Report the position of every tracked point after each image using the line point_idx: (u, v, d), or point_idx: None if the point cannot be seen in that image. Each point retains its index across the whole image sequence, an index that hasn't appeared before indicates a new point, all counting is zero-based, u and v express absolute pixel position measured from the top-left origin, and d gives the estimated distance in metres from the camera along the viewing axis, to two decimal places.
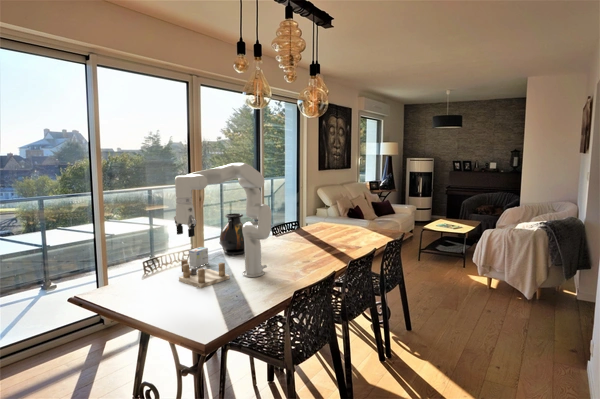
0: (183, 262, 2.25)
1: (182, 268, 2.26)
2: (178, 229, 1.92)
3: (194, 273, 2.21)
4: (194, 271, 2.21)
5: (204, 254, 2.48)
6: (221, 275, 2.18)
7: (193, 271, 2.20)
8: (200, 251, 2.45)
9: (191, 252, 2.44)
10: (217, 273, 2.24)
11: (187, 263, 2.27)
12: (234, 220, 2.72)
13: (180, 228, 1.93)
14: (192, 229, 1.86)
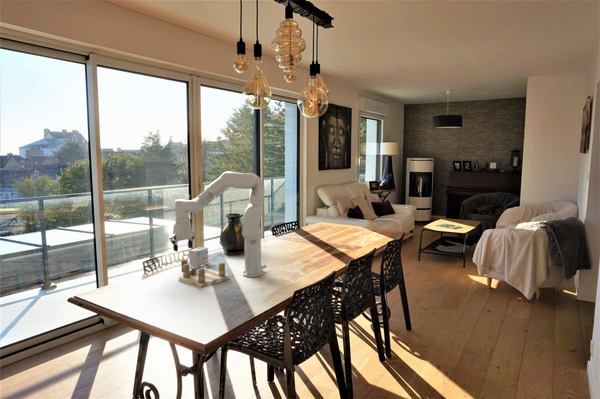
0: (183, 262, 2.25)
1: (182, 268, 2.26)
2: None
3: (194, 273, 2.21)
4: (194, 271, 2.21)
5: (204, 254, 2.48)
6: (221, 275, 2.18)
7: (193, 271, 2.20)
8: (200, 251, 2.45)
9: (191, 252, 2.44)
10: (217, 273, 2.24)
11: (187, 263, 2.27)
12: (234, 220, 2.72)
13: None
14: None
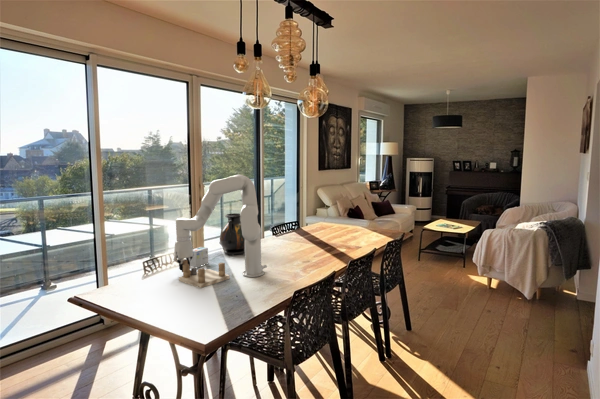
0: (183, 262, 2.25)
1: None
2: None
3: (194, 273, 2.21)
4: (194, 271, 2.21)
5: (204, 254, 2.48)
6: (221, 275, 2.18)
7: (193, 271, 2.20)
8: (200, 251, 2.45)
9: None
10: (217, 273, 2.24)
11: (187, 263, 2.27)
12: (234, 220, 2.72)
13: None
14: None
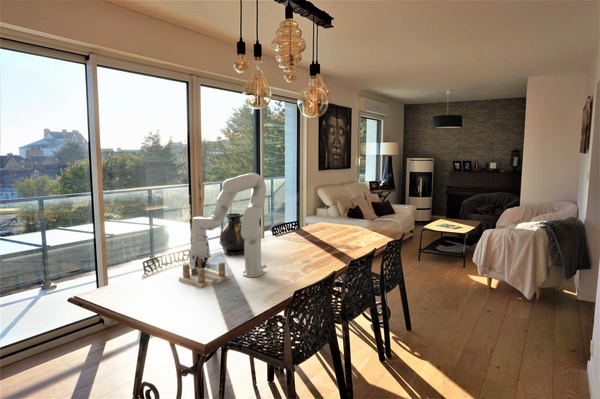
0: (197, 260, 2.29)
1: None
2: (196, 263, 2.30)
3: (192, 273, 2.21)
4: (191, 271, 2.21)
5: None
6: (221, 275, 2.18)
7: (191, 271, 2.21)
8: None
9: None
10: (217, 273, 2.24)
11: (200, 262, 2.29)
12: (234, 220, 2.72)
13: None
14: (205, 261, 2.30)
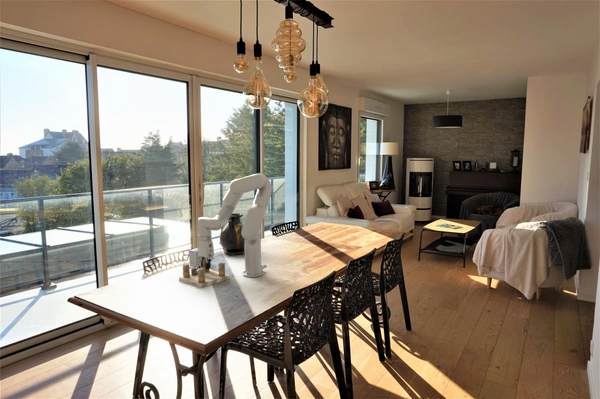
0: None
1: None
2: (202, 263, 2.29)
3: (191, 273, 2.21)
4: (191, 271, 2.21)
5: None
6: (221, 275, 2.18)
7: (191, 270, 2.22)
8: None
9: (191, 252, 2.44)
10: (217, 273, 2.24)
11: (204, 263, 2.27)
12: (234, 220, 2.72)
13: None
14: (209, 263, 2.27)
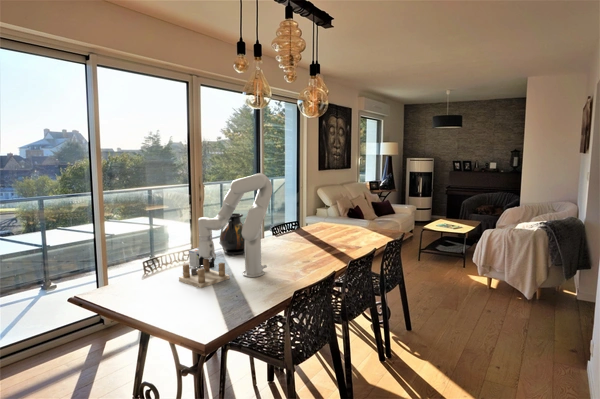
0: None
1: None
2: (200, 261, 2.31)
3: (191, 273, 2.21)
4: (191, 271, 2.21)
5: None
6: (221, 275, 2.18)
7: (191, 270, 2.22)
8: None
9: (191, 252, 2.44)
10: (217, 273, 2.24)
11: (205, 263, 2.27)
12: (234, 220, 2.72)
13: (202, 260, 2.31)
14: (213, 261, 2.25)
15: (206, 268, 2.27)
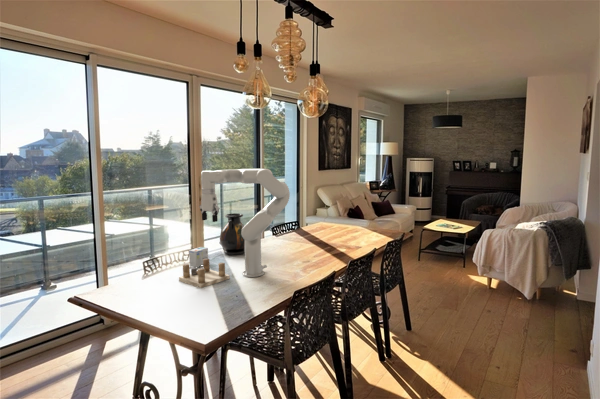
0: None
1: None
2: (203, 216, 2.28)
3: (191, 273, 2.21)
4: (191, 271, 2.21)
5: (204, 254, 2.48)
6: (221, 275, 2.18)
7: (191, 270, 2.22)
8: (200, 251, 2.45)
9: (191, 252, 2.44)
10: (217, 273, 2.24)
11: (205, 263, 2.27)
12: (234, 220, 2.72)
13: (205, 215, 2.28)
14: (216, 215, 2.22)
15: (206, 268, 2.27)
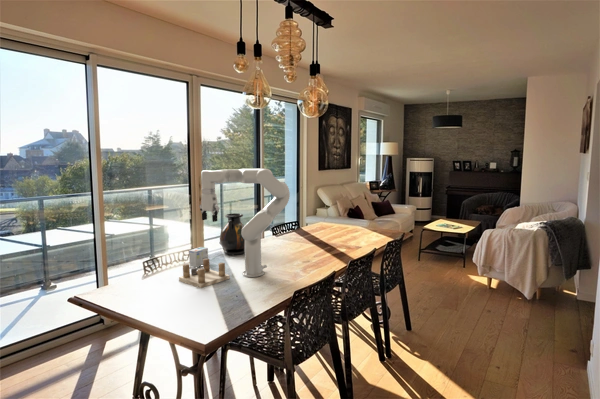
0: None
1: None
2: (203, 215, 2.28)
3: (191, 273, 2.21)
4: (191, 271, 2.21)
5: (204, 254, 2.48)
6: (221, 275, 2.18)
7: (191, 270, 2.22)
8: (200, 251, 2.45)
9: (191, 252, 2.44)
10: (217, 273, 2.24)
11: (205, 263, 2.27)
12: (234, 220, 2.72)
13: (205, 214, 2.28)
14: (216, 215, 2.22)
15: (206, 268, 2.27)
